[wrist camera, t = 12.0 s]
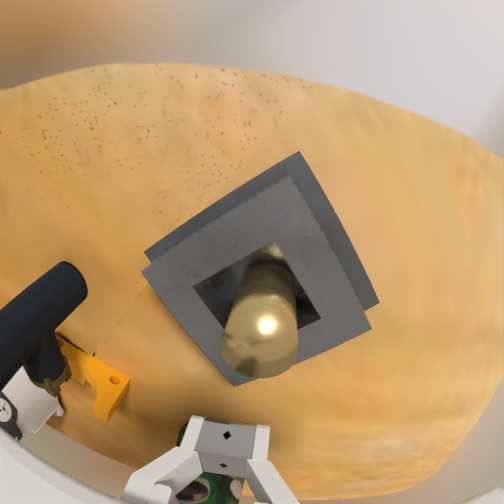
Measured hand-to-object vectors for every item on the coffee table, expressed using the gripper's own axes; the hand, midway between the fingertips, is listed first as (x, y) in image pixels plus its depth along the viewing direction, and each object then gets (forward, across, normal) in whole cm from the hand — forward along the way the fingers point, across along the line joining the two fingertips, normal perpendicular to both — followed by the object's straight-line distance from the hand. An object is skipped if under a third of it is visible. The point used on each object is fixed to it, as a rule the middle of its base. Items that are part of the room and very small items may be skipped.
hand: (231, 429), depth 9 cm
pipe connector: (+15, +21, +6) cm, 27 cm away
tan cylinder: (+14, 0, +1) cm, 14 cm away
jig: (+15, 0, 0) cm, 15 cm away
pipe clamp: (+15, +22, +16) cm, 31 cm away
